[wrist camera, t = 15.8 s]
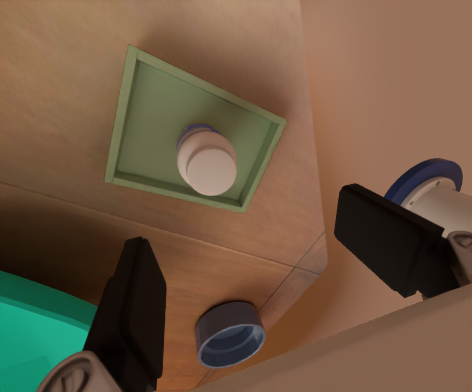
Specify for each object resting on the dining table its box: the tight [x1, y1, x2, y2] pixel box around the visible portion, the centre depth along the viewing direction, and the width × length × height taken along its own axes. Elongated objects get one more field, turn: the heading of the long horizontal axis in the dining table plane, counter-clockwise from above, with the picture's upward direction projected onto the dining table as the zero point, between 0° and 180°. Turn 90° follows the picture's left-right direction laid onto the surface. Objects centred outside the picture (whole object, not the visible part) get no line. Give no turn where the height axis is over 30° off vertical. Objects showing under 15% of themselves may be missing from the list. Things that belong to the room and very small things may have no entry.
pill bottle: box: [177, 123, 237, 196], centre depth 20 cm, size 5×5×10 cm
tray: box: [104, 44, 288, 214], centre depth 24 cm, size 17×13×3 cm
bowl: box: [195, 302, 266, 369], centre depth 41 cm, size 13×13×5 cm
